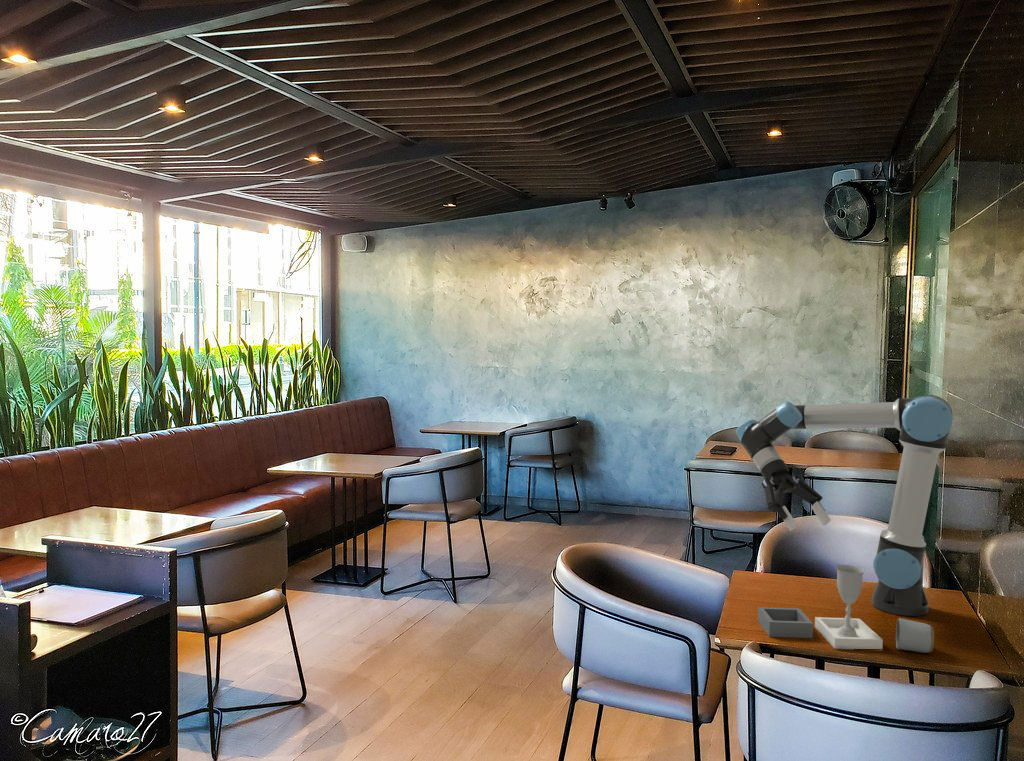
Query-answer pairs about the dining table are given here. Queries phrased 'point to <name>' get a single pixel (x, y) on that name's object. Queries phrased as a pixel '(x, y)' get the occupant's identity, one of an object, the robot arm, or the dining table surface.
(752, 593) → the dining table surface
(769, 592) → the dining table surface
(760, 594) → the dining table surface
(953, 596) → the dining table surface
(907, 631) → the ceramic mug
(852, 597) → the chalice
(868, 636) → the off-white tray
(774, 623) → the charcoal collar
